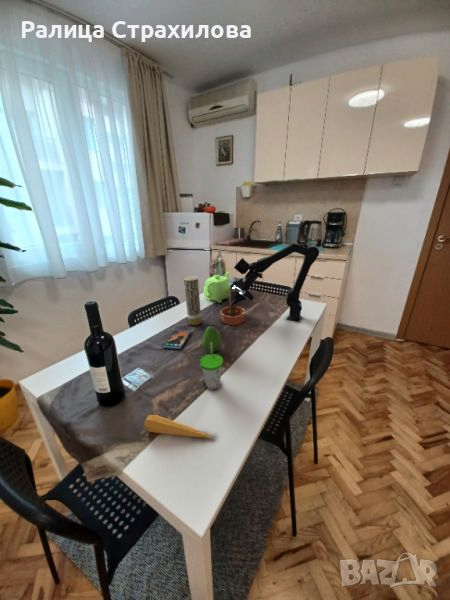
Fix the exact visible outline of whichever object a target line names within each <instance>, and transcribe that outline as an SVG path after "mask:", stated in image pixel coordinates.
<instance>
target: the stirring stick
mask: <svg viewBox="0 0 450 600" xmlns="http://www.w3.org/2000/svg"><path fill="white" fill-rule="evenodd" d="M229 294H230V295H229V298H230V303H229V307H230V310H229V316H231V317H232V316H237V310H236V307H237V303H236V304H234V305H232V302H233V300H234V299H235V297H236V290H230V291H229Z"/></svg>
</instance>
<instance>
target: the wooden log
mask: <svg viewBox="0 0 450 600" xmlns="http://www.w3.org/2000/svg"><path fill="white" fill-rule="evenodd" d="M183 284H184V293H185V303H186V314H187V323H188V325H190V326H199V325H200V324H201V323H202V315H201V314H202V313H201V299H200V288H199V287H200V286H199V276H196V275H187V276H184V278H183Z"/></svg>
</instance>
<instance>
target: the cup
mask: <svg viewBox="0 0 450 600" xmlns="http://www.w3.org/2000/svg"><path fill="white" fill-rule="evenodd" d="M223 364H224V359H223V356H221V355H220V354H217V353H214V352H212V342H211V353H208V354H205V355H203V356H202V357H201V358H200V359H199V365H200V368H201V369H202V374H203V377H204V382H205V387H206V388H207V389H208V390H210V391H211V390H212V391H214V390H217V389H219V387H220V384H221V376H222V375H221V374H222V368H223V367H222V366H223Z"/></svg>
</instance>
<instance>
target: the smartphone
mask: <svg viewBox="0 0 450 600" xmlns="http://www.w3.org/2000/svg"><path fill="white" fill-rule="evenodd" d="M191 332H192V331H191V330H188V329H187V330H185V329H175V330H174V331H173V333H172V334H171V335H170V336H169V338H168V339H167V341H166V342H165V343H164V345H163V349H169V350H181V349H182V348H183V346H184V344H185V343H186V342H187V339H188V338H189V336H190V334H191Z"/></svg>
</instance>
